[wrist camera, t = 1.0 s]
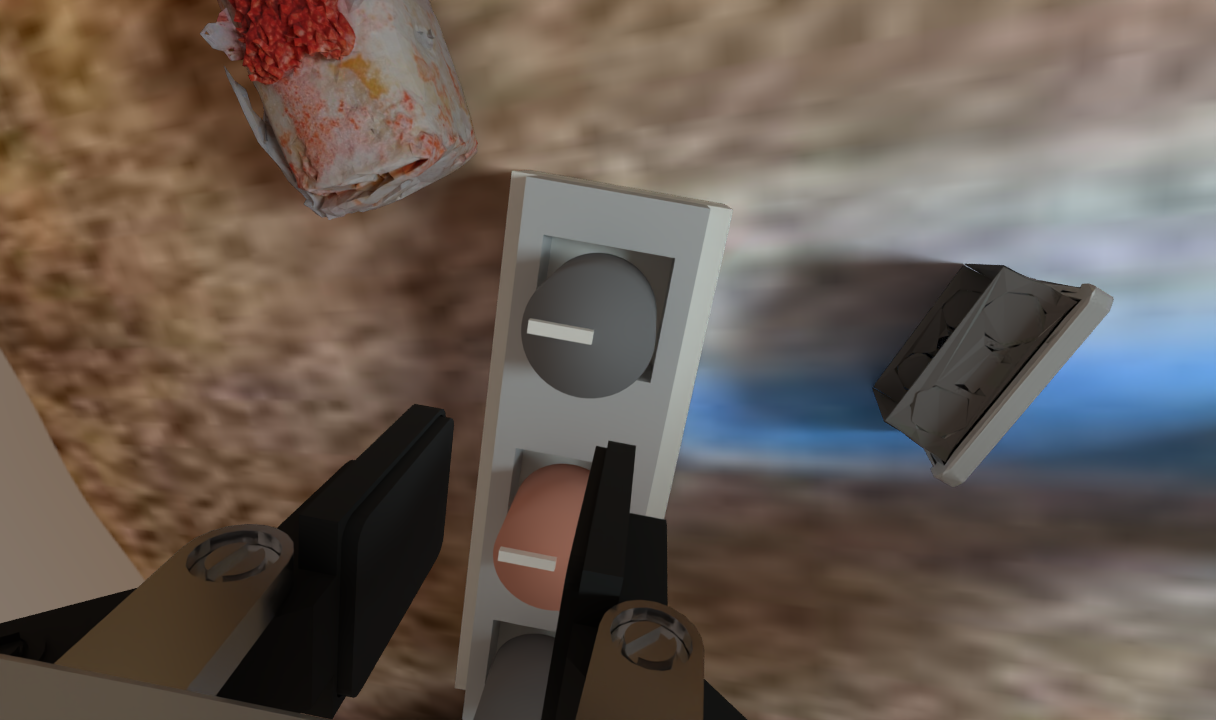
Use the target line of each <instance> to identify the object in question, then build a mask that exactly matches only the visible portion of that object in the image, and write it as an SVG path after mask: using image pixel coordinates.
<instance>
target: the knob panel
mask: <svg viewBox="0 0 1216 720" xmlns="http://www.w3.org/2000/svg"><path fill="white" fill-rule="evenodd" d="M732 213H733V209H731V208H730V207H728V206H727V205H725V204H721V203H715V202H709V201H703V200H698V199H692V198H686V197H681V196H675V195H669V194H664V193H658V192H652V191H646V190H641V189H635V188H629V187H624V186H618V185H612V184H607V183H601V182H595V181H590V180H584V179H578V178H572V177H567V176H561V175H555V174H550V173H544V172H538V171H533V170H519V171H512V174H511V183H510V192H509V201H508V210H507V219H506V228H505V237H504V246H503V256H502V265H501V274H500V283H499V292H498V301H497V310H496V319H495V328H494V337H493V346H492V355H491V364H490V373H489V382H488V391H487V400H486V409H485V418H484V427H483V436H482V445H481V454H480V463H479V472H478V481H477V490H476V499H475V508H474V517H473V526H472V535H471V544H470V553H469V562H468V571H467V580H466V589H465V598H464V607H463V616H462V625H461V634H460V643H459V653H458V662H457V671H456V680H455V688H457V689H462V690H466V691H465V700H464V708H463V717H462V720H473V719H474V716H475V713H476V710H477V707H478V704H479V701H480V698H481V695H482V692H483V690H484V687H485V684H486V681H487V678H488V675H489V672H490V669H491V666H492V663H493V660H494V657H495V655H496V653H497V651H498V650H499V648H500V647H501V646H502V645H503V644H504V643H505V642H507V641H508V640H510V639H512V638H514V637H516V636H520V635H524V634H544V635H549V636H552V637H555V634H556V628H557V622H558V617H559V611H551V610H544V609H540V608H536V607H533V606H531V605H528V604H526V603H524V602H522V601H521V600H519V599H518V598H516V597H515V596H514V595H512V594H511V593H510V592H509V591H508V590H507V589H506V588H505V586H504V585H503V584H502V582H501V581H500V579H499V577H498V575H497V573H496V570H495V567H494V562H493V549H494V544H495V541H496V538H497V536H498V534H499V531H500V529H501V527H502V525H503V522H504V520H505V518H506V516H507V513H508V511H509V509H510V507H511V504H512V502H513V500H514V498H515V495H516V493H517V491H518V489H519V487H520V485H521V484H522V482H523V481H524V480H525V479H526V478H527V477H528V476H529V475H530V474H531V473H533V472H534V471H536V470H538V469H540V468H542V467H545V466H548V465H552V464H572V465H577V466H580V467H583V468H586V469H588V470H590V469H591V465H592V461H593V456H594V452H595V448H596V446H600V447H606V448H607V445H608V440H609V441H614V442H620V443H625V444H630V445H636V452H635V463H634V473H633V484H632V494H631V505H630V513H633V514H638V515H644V516H649V517H654V518H659V519H664V517H665V513H666V508H667V504H668V499H669V495H670V490H671V486H672V481H673V477H674V472H675V468H676V463H677V459H678V455H679V450H680V446H681V441H682V437H683V432H684V428H685V423H686V419H687V414H688V410H689V405H690V401H691V396H692V392H693V387H694V383H695V379H696V374H697V370H698V365H699V361H700V356H701V352H702V347H703V343H704V338H705V334H706V329H707V325H708V320H709V316H710V311H711V307H712V303H713V298H714V294H715V289H716V285H717V280H718V276H719V271H720V267H721V262H722V258H723V253H724V249H725V244H726V240H727V235H728V231H729V227H730V222H731V218H732ZM588 253H608V254H612V255H616V256H618V257H621V258H623V259H625V260H627V261H629V262H630V263H632V264H633V265H634V266H636V267H637V268H638V269H639V270H640V271H641V272H642V273H643V274H644V276H645V277H646V278H647V280H648V282H649V283H650V285H651V287H652V290H653V292H654V295H655V299H656V306H657V317H656V340H655V348H654V351H653V355H652V358H651V360H650V362H649V364H648V366H647V368H646V369H645V371H644V372H643V374H642V375H641V376H640V377H639V378H638V379H637V380H636V381H635V382H634V383H633V384H632V385H630V386H629V387H628V388H626V389H624V390H622V391H621V392H619V393H616V394H614V395H611V396H607V397H603V398H578V397H574V396H570V395H567V394H565V393H562V392H560V391H558V390H556V389H554V388H553V387H551V386H550V385H549V384H547V383H546V382H545V381H544V380H543V379H541V378H540V376H539V375H538V374H537V373H536V372H535V371H534V369H533V368H532V366H531V365H530V363H529V361H528V359H527V357H526V354H525V351H524V349H523V344H522V337H521V324H522V318H523V314H524V311H525V308H526V306H527V304H528V302H529V300H530V298H531V297H532V295H533V294H534V292H535V291H536V290H537V289H538V288H539V287H540V286H541V285H542V284H543V283H544V282H545V281H546V280H547V279H548V278H549V277H550V276H551V275H552V274H553V273H554V272H555V271H556V270H557V269H558V268H559V267H560V266H561V265H563V264H564V263H565V262H567V261H569V260H570V259H572V258H575V257H577V256H580V255H583V254H588Z"/></svg>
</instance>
